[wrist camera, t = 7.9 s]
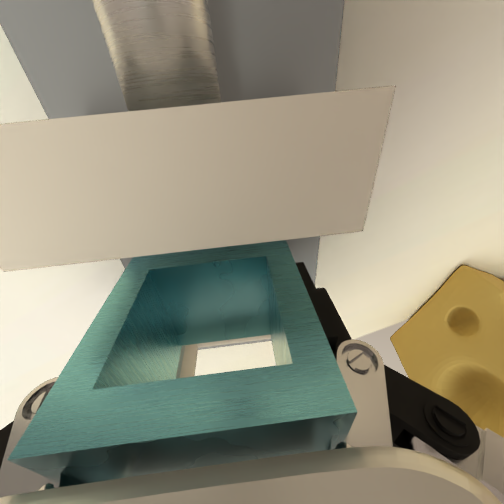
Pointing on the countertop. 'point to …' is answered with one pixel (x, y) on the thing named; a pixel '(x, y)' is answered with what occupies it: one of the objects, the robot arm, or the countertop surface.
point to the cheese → (460, 345)
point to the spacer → (197, 387)
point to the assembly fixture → (186, 144)
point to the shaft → (160, 51)
